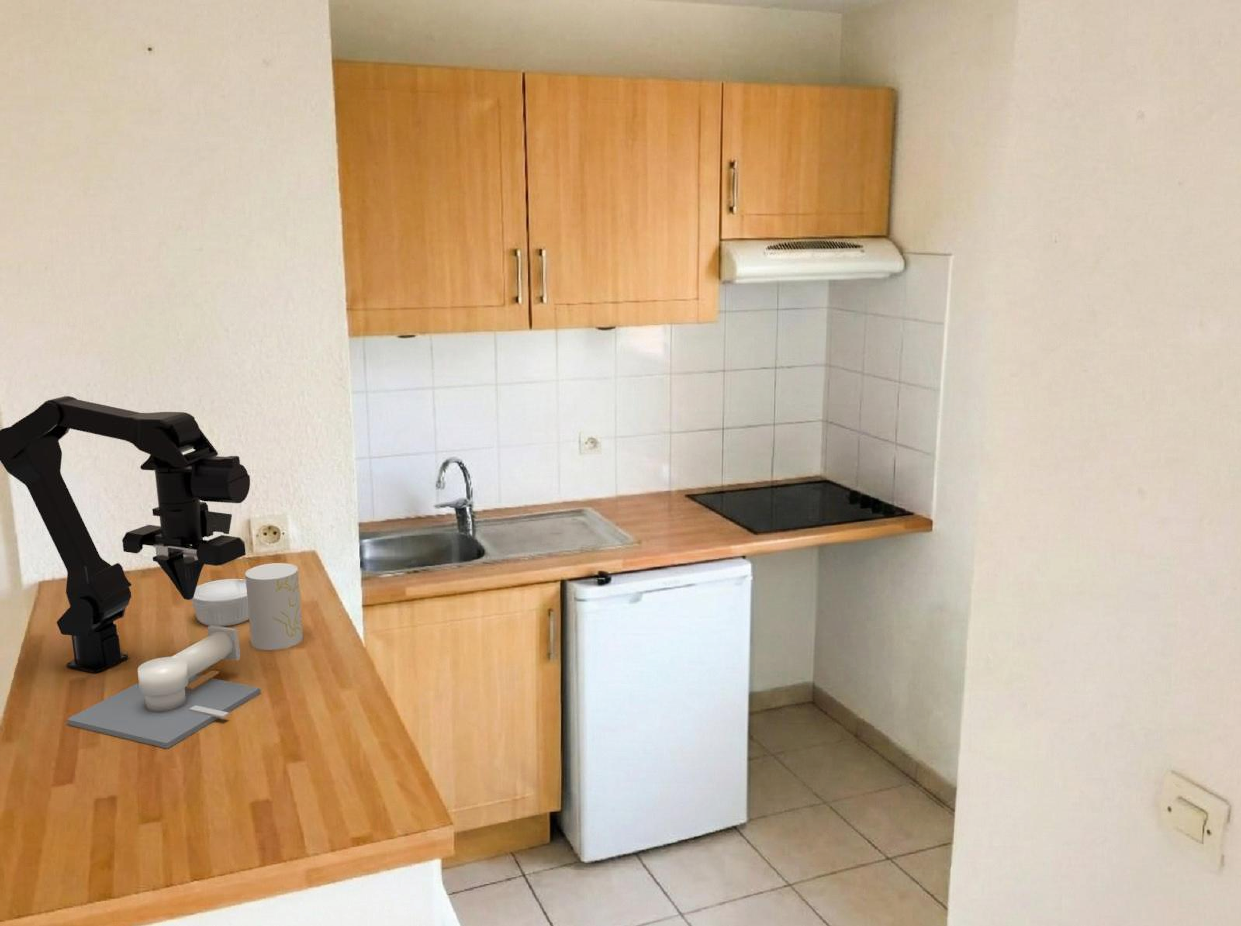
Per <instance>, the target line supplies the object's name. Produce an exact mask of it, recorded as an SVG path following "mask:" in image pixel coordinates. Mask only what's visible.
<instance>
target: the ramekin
mask: <svg viewBox="0 0 1241 926" xmlns="http://www.w3.org/2000/svg"><path fill="white" fill-rule="evenodd" d="M189 601H191V602H192V606H193V609H194V610H193V611H194V613H195V616H196V619H197V621H199V622H200V623H201V624H203V625H205V626H207V627H209V626H211V625H213V626H220V627H229V626H234V625H238V624H242V623H245V622H247V621H249V611H248V599H247V588H246V579H245V578H243V579H240V578H226V579H225V578H224V579H217V580H212V581H208V582H205V583H202V584H199V585H197V587H196V590H195V594H194V597H193V598H192V599H190V600H189Z"/></svg>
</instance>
